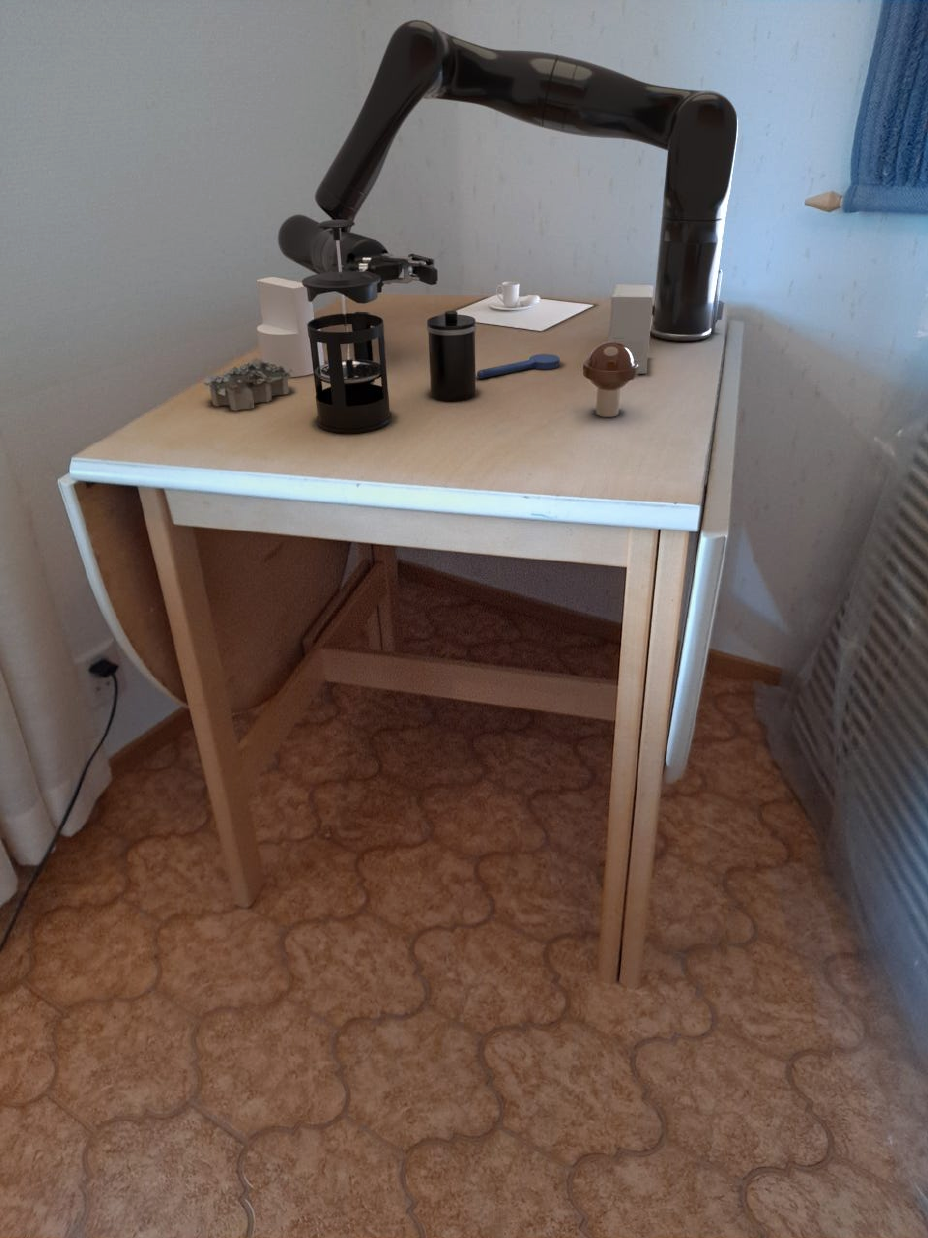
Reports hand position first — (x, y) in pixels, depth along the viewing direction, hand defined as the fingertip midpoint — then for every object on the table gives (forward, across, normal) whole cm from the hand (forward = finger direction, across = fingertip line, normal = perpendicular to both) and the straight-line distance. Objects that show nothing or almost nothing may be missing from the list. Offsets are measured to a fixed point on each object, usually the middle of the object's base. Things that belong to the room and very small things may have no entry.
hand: (407, 280), depth 117 cm
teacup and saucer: (-21, +33, +13) cm, 41 cm away
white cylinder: (-13, -13, +13) cm, 22 cm away
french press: (+12, -15, +13) cm, 23 cm away
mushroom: (+29, +12, +12) cm, 34 cm away
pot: (+11, 0, +13) cm, 17 cm away
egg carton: (-4, -23, +13) cm, 27 cm away
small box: (+15, +27, +13) cm, 34 cm away
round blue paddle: (+8, +13, +13) cm, 20 cm away
